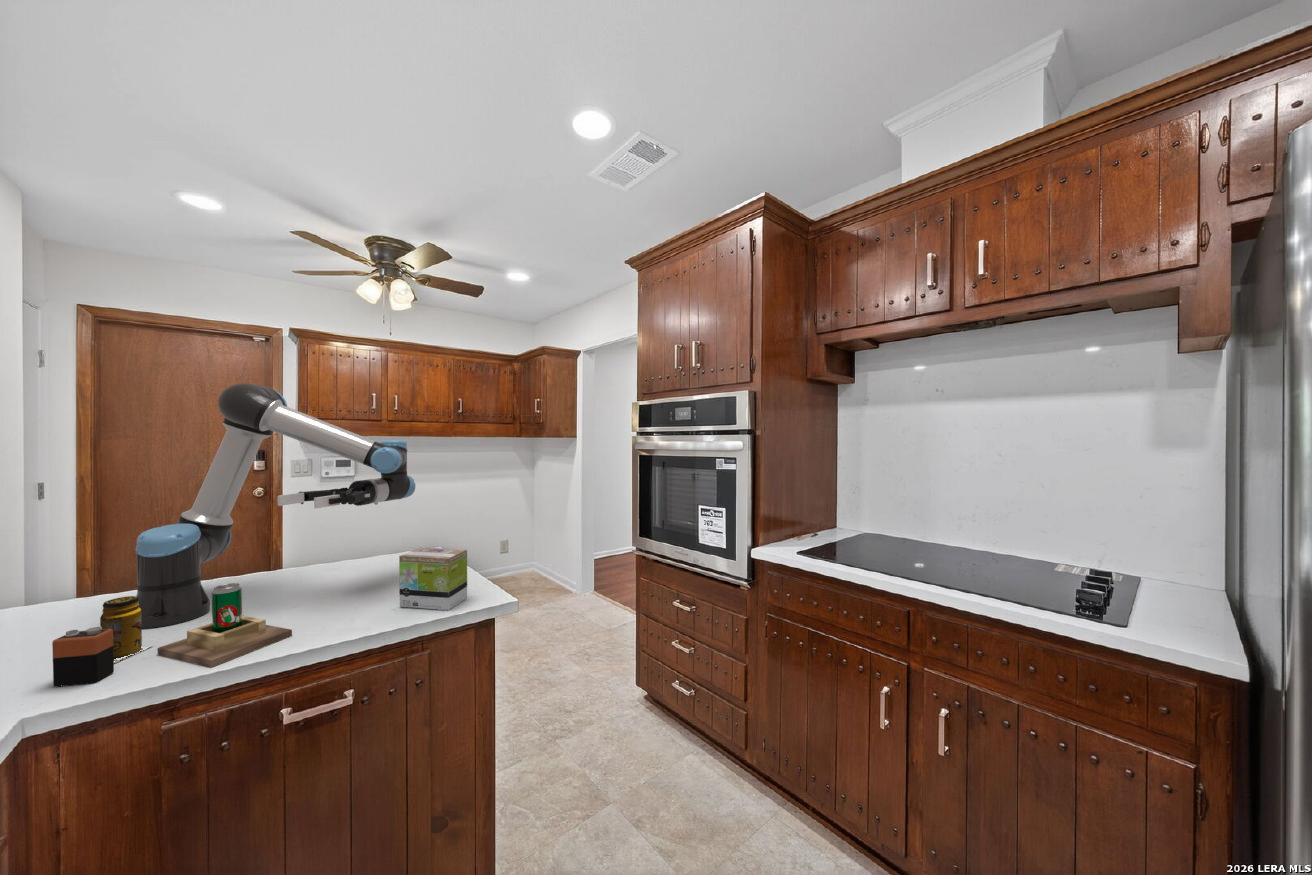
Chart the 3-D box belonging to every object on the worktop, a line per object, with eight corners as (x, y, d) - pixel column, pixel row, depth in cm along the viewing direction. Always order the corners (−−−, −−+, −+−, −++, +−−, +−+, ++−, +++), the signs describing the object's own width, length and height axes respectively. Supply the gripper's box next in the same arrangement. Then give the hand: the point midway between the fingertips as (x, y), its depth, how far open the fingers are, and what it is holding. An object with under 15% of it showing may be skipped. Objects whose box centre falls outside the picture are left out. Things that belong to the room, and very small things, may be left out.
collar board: (157, 654, 104) (157, 634, 104) (241, 626, 120) (240, 608, 120) (211, 667, 99) (211, 645, 99) (292, 635, 114) (291, 617, 114)
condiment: (153, 646, 108) (152, 594, 108) (112, 665, 100) (111, 608, 100) (120, 647, 108) (119, 594, 108) (76, 665, 100) (75, 608, 100)
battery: (96, 683, 93) (94, 632, 92) (51, 688, 91) (50, 635, 91) (115, 672, 97) (114, 623, 97) (73, 676, 95) (72, 626, 95)
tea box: (398, 608, 131) (397, 555, 131) (421, 596, 141) (420, 546, 141) (449, 611, 129) (448, 556, 129) (468, 598, 139) (468, 547, 139)
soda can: (224, 634, 111) (223, 582, 111) (248, 633, 112) (247, 582, 112) (206, 643, 106) (205, 590, 106) (230, 642, 107) (229, 589, 107)
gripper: (399, 506, 143) (331, 518, 123) (338, 502, 151) (264, 513, 130) (399, 480, 143) (330, 489, 122) (337, 478, 150) (263, 485, 130)
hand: (296, 501), depth 126 cm, fingers open, 13 cm apart
